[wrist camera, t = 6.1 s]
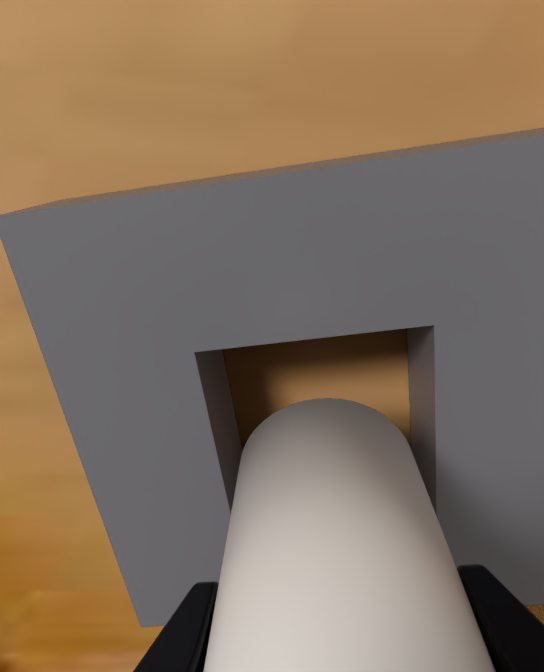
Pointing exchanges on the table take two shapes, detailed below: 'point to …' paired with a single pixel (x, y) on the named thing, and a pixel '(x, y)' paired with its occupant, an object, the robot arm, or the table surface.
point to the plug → (337, 555)
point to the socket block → (298, 338)
